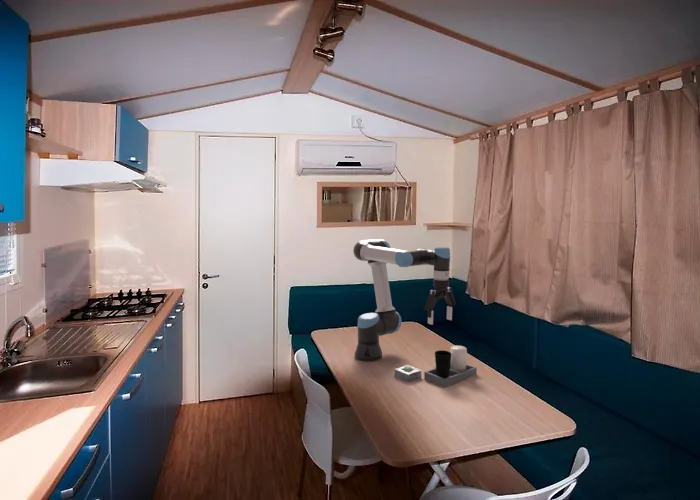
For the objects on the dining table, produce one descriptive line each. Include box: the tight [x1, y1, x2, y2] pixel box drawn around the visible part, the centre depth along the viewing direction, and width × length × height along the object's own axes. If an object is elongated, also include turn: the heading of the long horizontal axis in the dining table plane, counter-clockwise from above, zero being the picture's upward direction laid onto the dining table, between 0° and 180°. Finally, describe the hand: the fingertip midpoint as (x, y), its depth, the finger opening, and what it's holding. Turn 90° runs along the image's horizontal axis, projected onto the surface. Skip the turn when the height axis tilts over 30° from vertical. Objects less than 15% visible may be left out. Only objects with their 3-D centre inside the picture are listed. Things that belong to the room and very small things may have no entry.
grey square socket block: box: [394, 364, 422, 383], centre depth 200 cm, size 9×9×4 cm
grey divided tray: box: [423, 363, 478, 388], centre depth 200 cm, size 12×24×4 cm, turn 128°
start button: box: [404, 365, 413, 372], centre depth 200 cm, size 4×4×4 cm
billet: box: [450, 345, 468, 373], centre depth 203 cm, size 8×8×12 cm
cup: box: [434, 350, 451, 379], centre depth 196 cm, size 8×8×12 cm
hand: (439, 321), depth 203 cm, fingers open, 13 cm apart
